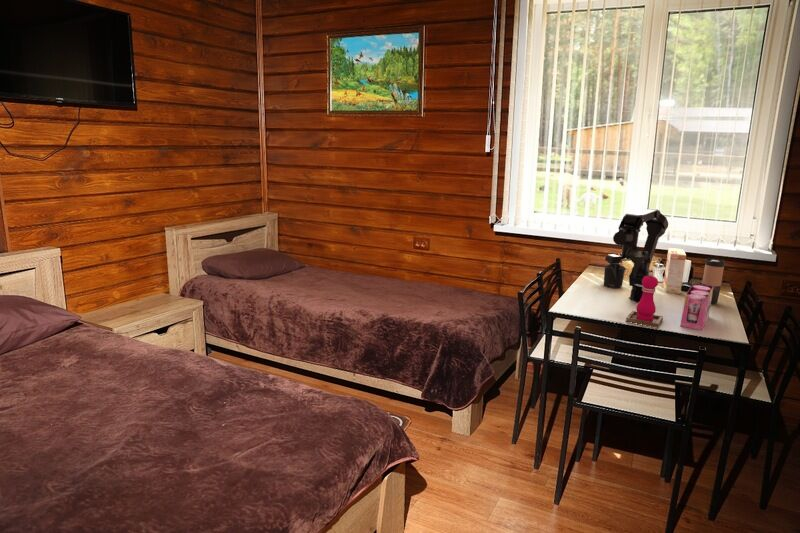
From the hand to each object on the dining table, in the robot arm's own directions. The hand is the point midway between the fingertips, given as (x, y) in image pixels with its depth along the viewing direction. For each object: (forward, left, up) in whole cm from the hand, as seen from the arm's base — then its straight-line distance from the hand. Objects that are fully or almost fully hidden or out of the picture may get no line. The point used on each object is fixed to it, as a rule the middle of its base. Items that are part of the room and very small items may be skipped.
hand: (625, 277), depth 244 cm
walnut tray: (+3, +20, -13) cm, 24 cm away
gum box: (-19, +23, -13) cm, 32 cm away
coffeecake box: (-43, -23, -13) cm, 51 cm away
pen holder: (-16, -32, -13) cm, 38 cm away
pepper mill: (+3, +20, -13) cm, 24 cm away
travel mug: (-46, -1, -13) cm, 47 cm away
